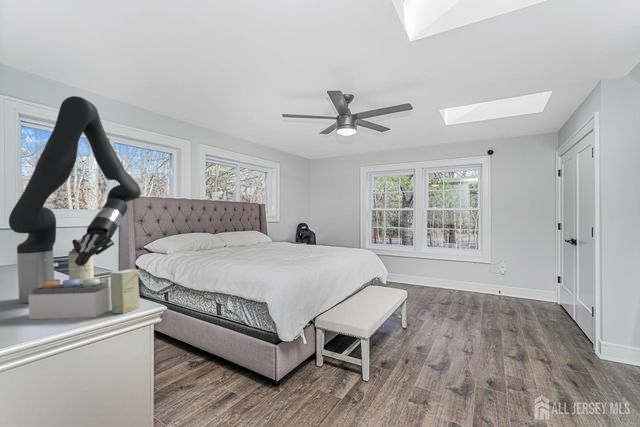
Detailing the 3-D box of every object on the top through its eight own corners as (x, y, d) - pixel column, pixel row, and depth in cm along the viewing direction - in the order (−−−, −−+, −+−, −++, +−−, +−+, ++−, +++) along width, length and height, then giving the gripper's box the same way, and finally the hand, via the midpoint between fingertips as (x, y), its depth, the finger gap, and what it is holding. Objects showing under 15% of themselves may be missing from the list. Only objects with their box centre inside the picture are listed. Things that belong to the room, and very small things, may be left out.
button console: (29, 319, 84) (28, 290, 84) (51, 310, 91) (50, 284, 91) (95, 317, 84) (94, 288, 84) (112, 308, 91) (111, 282, 91)
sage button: (79, 288, 86) (79, 281, 86) (90, 284, 90) (89, 278, 90) (93, 287, 86) (93, 281, 86) (103, 284, 90) (102, 277, 90)
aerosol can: (98, 294, 108) (97, 241, 108) (85, 300, 102) (83, 243, 101) (79, 295, 108) (77, 241, 108) (64, 301, 101) (62, 244, 101)
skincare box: (123, 314, 86) (121, 273, 86) (110, 313, 87) (109, 273, 87) (140, 307, 93) (138, 269, 92) (128, 306, 93) (127, 268, 93)
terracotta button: (38, 289, 86) (38, 282, 86) (50, 285, 90) (50, 279, 90) (52, 289, 86) (51, 282, 86) (63, 285, 90) (63, 279, 90)
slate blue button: (59, 288, 86) (58, 282, 86) (70, 285, 90) (70, 278, 90) (72, 288, 86) (72, 281, 86) (83, 284, 90) (83, 278, 90)
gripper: (80, 216, 100) (49, 258, 88) (119, 215, 100) (93, 256, 88) (92, 231, 105) (65, 272, 93) (129, 229, 105) (107, 270, 93)
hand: (79, 264), depth 90 cm, fingers closed
